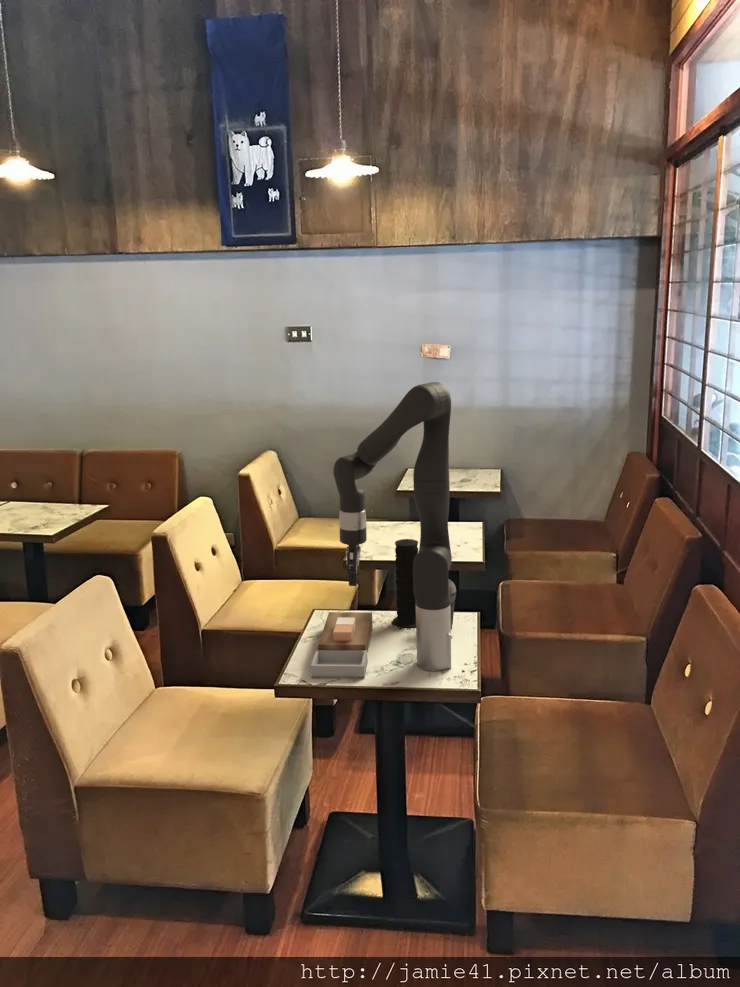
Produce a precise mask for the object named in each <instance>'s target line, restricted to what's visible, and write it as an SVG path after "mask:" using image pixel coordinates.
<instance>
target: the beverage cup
mask: <svg viewBox="0 0 740 987" xmlns="http://www.w3.org/2000/svg"><path fill="white" fill-rule="evenodd" d="M448 582H449V593H450V601H451V604H450V612H451V631H452V630H453V624H454V614H455V613H454V610H455V600H456V596H457V589H456V585H455V583H454V582H453V581H452V580H451V579H450V578H448Z"/></svg>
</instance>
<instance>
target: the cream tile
mask: <svg viewBox="0 0 740 987" xmlns="http://www.w3.org/2000/svg"><path fill="white" fill-rule="evenodd" d="M336 625H353V633H354V630H355V618H346V617H338V619H337V622H336Z"/></svg>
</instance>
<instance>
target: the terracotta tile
mask: <svg viewBox="0 0 740 987" xmlns="http://www.w3.org/2000/svg"><path fill="white" fill-rule="evenodd" d="M353 634H354V633H353V625H335V628H334V631H333V638H334V641H352V638H353Z"/></svg>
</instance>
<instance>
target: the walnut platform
mask: <svg viewBox="0 0 740 987" xmlns="http://www.w3.org/2000/svg"><path fill="white" fill-rule="evenodd" d="M338 617H346V618H355V630H354V634H353V638H352V641H334V638H333V631H334V628H335V625H336V622H337V619H338ZM373 624H374V623H373V612H367V611H366V612H364V611H363V612H359V611H358V612H355V611H354V612H350V611H347V612H345V611H343V612H340V611H339V612H338V611H337V612H336V611H335V612H332V611H331V612H330V611H329V612H328V614H327V617H326V620H325V623H324V625H323V629H322V631H321V634H320V637H319V640H318V642H317V650H367V653H369V649H368V648H370V644H369V643H371V639H370V638H372V634H371V633H373V629H372V628H373V627H374V626H373Z"/></svg>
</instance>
